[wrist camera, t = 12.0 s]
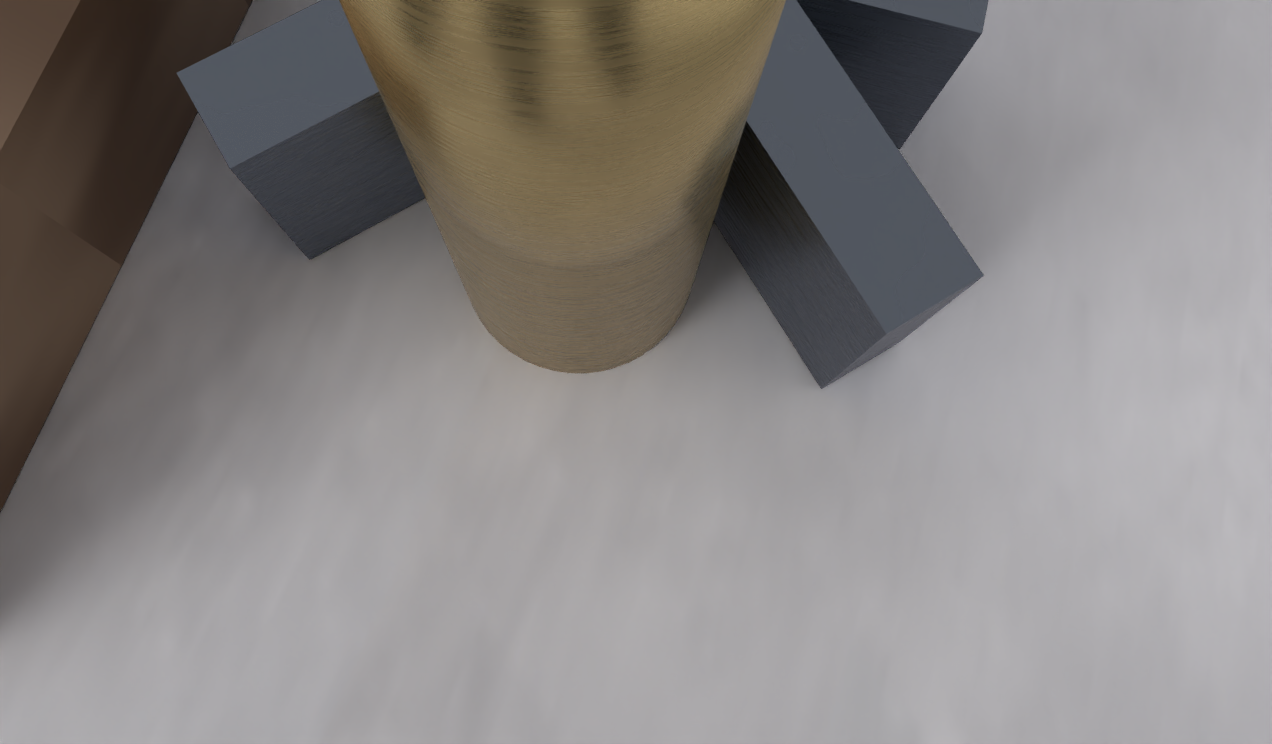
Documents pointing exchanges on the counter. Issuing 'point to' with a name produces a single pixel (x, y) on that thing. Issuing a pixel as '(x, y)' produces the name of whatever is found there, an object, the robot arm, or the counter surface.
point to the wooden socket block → (81, 172)
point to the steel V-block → (754, 191)
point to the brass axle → (570, 153)
